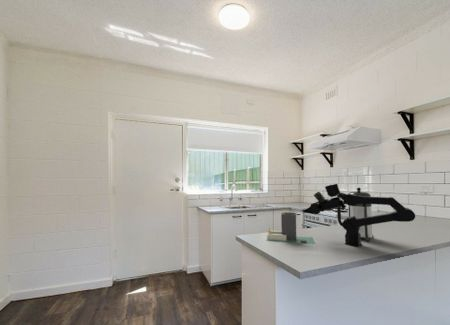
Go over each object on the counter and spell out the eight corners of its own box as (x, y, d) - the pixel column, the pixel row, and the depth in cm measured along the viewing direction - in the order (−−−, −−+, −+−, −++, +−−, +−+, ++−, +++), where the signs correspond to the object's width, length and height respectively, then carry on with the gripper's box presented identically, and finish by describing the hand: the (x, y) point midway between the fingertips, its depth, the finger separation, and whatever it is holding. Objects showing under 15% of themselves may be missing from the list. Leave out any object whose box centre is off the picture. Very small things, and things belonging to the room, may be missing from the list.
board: (312, 238, 133) (312, 227, 134) (315, 245, 120) (315, 233, 120) (267, 235, 140) (267, 225, 140) (266, 242, 126) (266, 230, 126)
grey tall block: (295, 238, 131) (295, 212, 132) (296, 240, 126) (295, 213, 127) (281, 237, 133) (281, 211, 134) (281, 239, 128) (281, 212, 129)
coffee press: (366, 234, 143) (364, 186, 144) (381, 241, 127) (378, 188, 129) (337, 233, 144) (336, 186, 146) (348, 240, 128) (347, 188, 130)
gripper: (329, 189, 139) (304, 196, 147) (322, 191, 123) (295, 198, 131) (336, 207, 136) (311, 213, 144) (330, 211, 121) (302, 217, 129)
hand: (305, 210), depth 137 cm, fingers open, 9 cm apart
